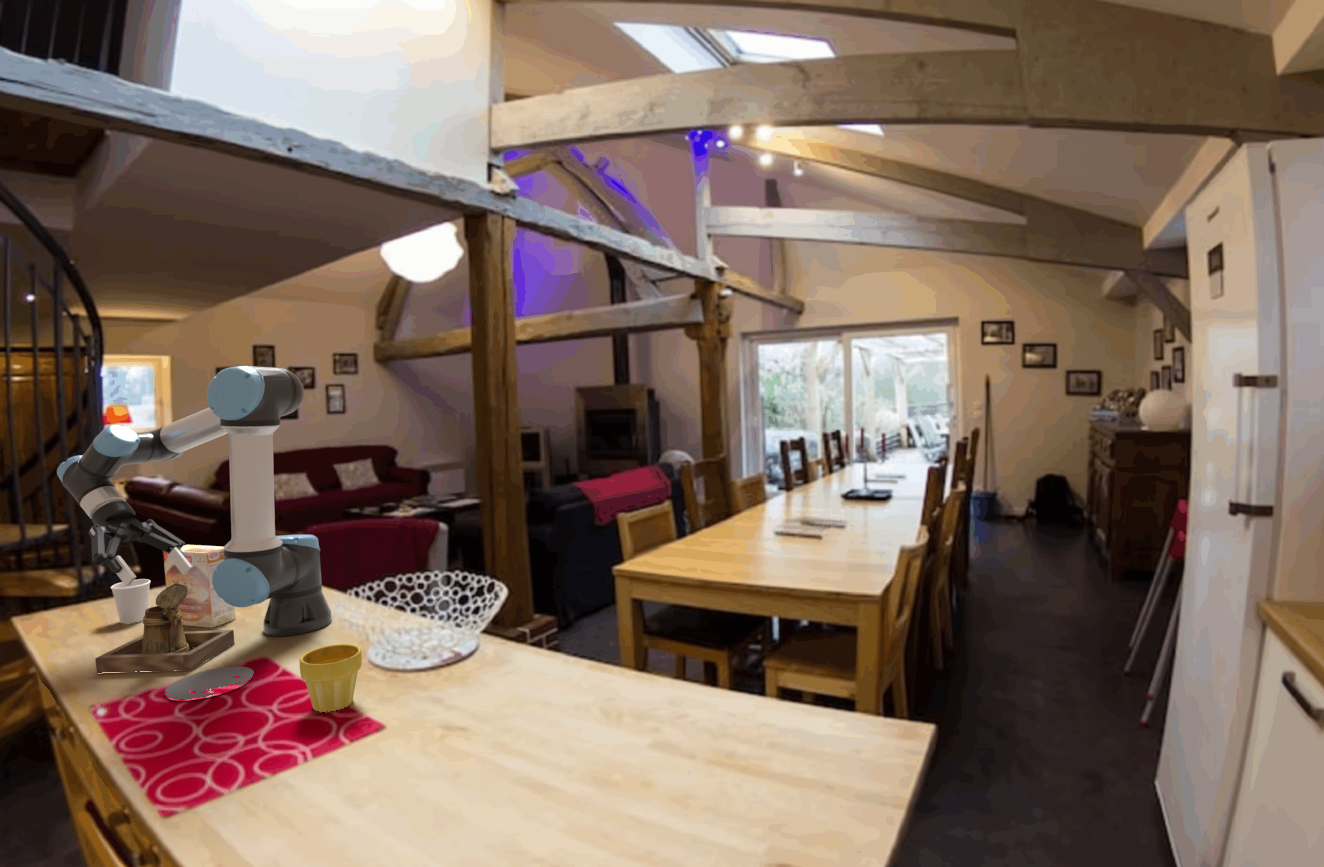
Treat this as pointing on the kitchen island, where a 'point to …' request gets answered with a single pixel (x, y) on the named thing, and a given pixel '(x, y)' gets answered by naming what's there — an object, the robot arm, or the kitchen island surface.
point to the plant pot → (331, 675)
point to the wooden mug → (165, 623)
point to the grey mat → (207, 682)
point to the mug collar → (166, 654)
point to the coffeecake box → (200, 587)
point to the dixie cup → (131, 600)
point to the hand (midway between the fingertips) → (160, 576)
